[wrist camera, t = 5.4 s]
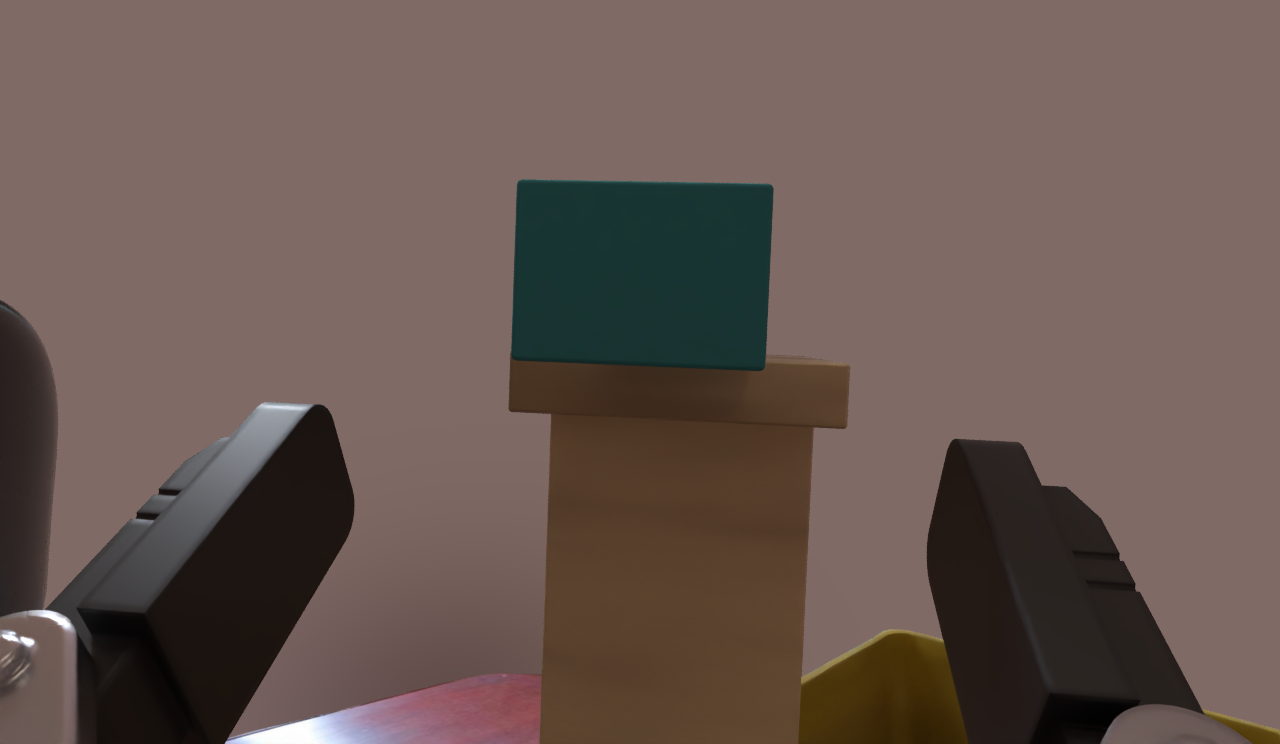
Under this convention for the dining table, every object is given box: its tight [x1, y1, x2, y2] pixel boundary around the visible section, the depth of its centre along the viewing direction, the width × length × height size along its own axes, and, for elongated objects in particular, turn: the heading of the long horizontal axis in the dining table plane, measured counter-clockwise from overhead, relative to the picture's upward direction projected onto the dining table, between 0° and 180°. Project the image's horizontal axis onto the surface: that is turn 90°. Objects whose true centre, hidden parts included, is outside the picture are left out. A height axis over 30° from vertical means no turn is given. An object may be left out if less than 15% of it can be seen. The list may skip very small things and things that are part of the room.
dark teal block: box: [511, 179, 773, 371], centre depth 21 cm, size 20×4×2 cm, turn 173°
